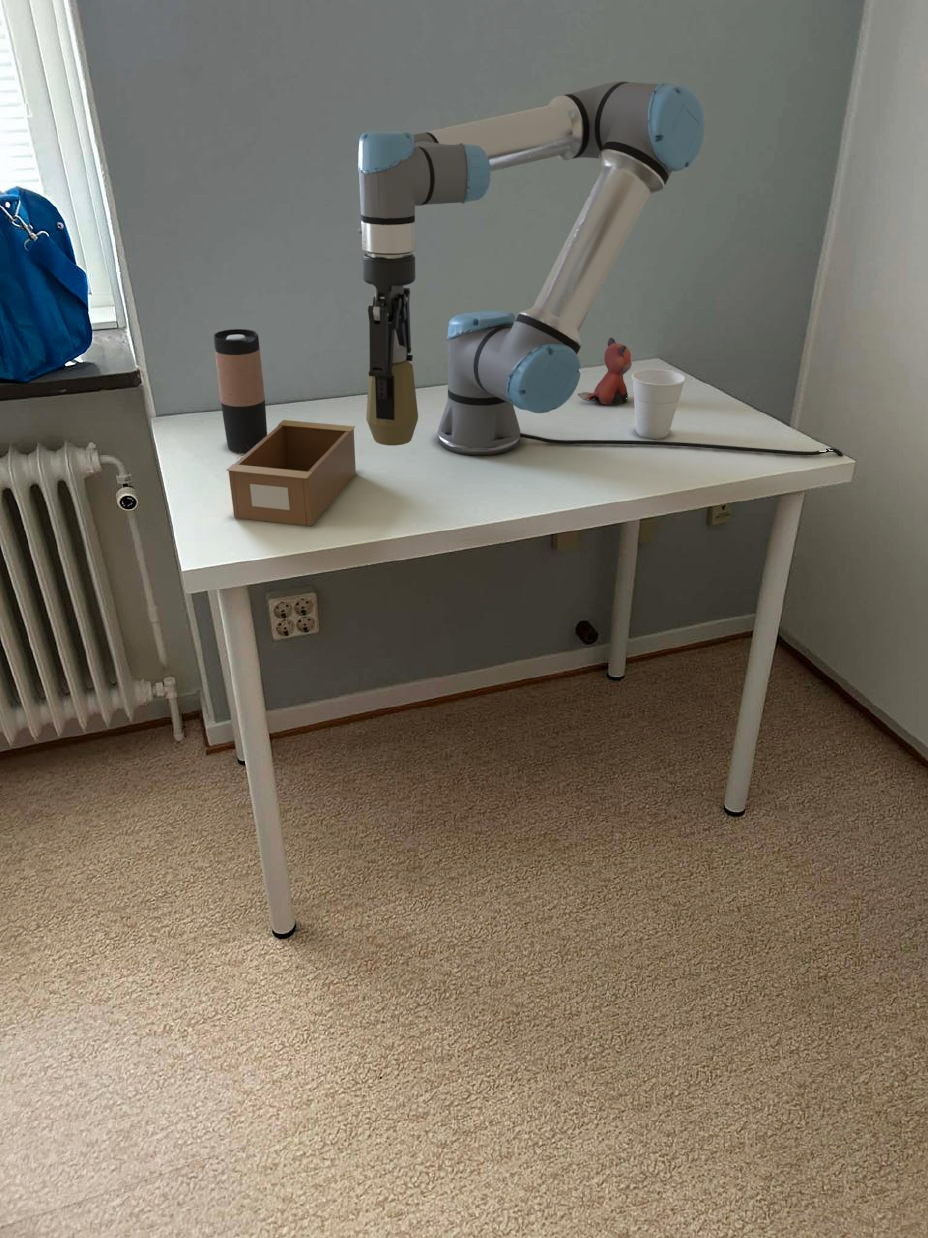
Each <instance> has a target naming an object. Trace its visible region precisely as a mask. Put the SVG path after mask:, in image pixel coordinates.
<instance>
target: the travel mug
mask: <svg viewBox="0 0 928 1238" xmlns="http://www.w3.org/2000/svg"><path fill="white" fill-rule="evenodd" d="M213 344H214V353H215V361H216V370H217V371H216V372H217V381H218V391H219V399H220V406H221V407H220V408H221V412H222V419H223V425H224V431H225V432H224V433H225V438H226V439H225V440H226V445H227V448H228V450H229V451H230V452H232V453H236V454H237V453H238V454H246V453H247V452H249V451H250V450H251V449H252V448H253V447H254V446H255V445H257V444H258V443H259V442H260V441H261V440H262V439H263V438H265V437H266V436H267V435H268V427H267V411H266V410H267V409H266V395H265V385H264V378H263V377H264V375H263V368H262V357H261V349H260V338H259V334H258V332H257V331H255V330H251V329H245V328H233V329H225V330H221V331H220V330H219V331H218V332H216V333H214V334H213Z"/></svg>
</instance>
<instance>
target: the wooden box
mask: <svg viewBox="0 0 928 1238" xmlns="http://www.w3.org/2000/svg"><path fill="white" fill-rule="evenodd" d="M355 428H356V426H355V425H346V424H345V425H343V424H333V423H322V422H313V421H312V422H311V421H302V420H301V421H299V420H289V419H282V420H281V421H280V422H279V423H278V424H277V426H276V427H275V428H273V430H271V431H270V432H269V433H267V436H266V437H265V438H263V439H262V440H261V441H260V442H259V443H258V444H257V445H255V446H254V447H253V448H252V449H251V450H250V451H249V452H247V453H244V455H243V456H241V458H239V459H238V460H237V461H236V462H235V463H232V464H231V465H230V466H229V467H227V468H226V470H225V471H227V472H228V478H229V486H230V495H231V502H232V503H231V504H232V511H233V512H232V513H233V519H241V520H243V519H244V520H251V521H260V522H269V523H277V524H287V525H295V526H307V527H312V526H313V525H314V524H315V523H316V522H317V520H318V519H319V518H320V517H321V516H322V515H323V513H324V512H325V511H326V510H327V508H328V507H330V505H331V504H332V503H333V501H334V500H335V499H336V498H337V496H338V495H339V494H340V493H341V492H342V491H343V490H344V488H345V487H346V486H347V485H348V483H349V482H351V480H352V479H353V477H354V476H355V475H356V473H357V470H356V469H357V468H356V466H357V465H356V450H355V449H356V448H355V447H356V445H355Z"/></svg>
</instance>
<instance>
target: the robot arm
mask: <svg viewBox="0 0 928 1238" xmlns="http://www.w3.org/2000/svg"><path fill="white" fill-rule="evenodd" d="M704 116H705V115H704V110H703V107H702V104H701V102H700V100H699V98H698V97H697V95H696V94H695V93H694V92H693V91H692V90H691V89H690V88H687V87H686V86H682V85H675V84H672V83H669V82H662V83H647V82H633V81H631V82H630V81H612V82H608V83H603V84H600V85H596V86H592V87H589V88H584V89H581V90H578V91H574V92H570V93H565V94H562V95H557V96H555V97H554V98H552V100H551V101H550V102H549V103H548V105H544V106H539V107H535V108H530V109H526V110H520V111H516V112H512V113H507V114H501V115H497V116H493V117H488V118H483V119H480V120H475V121H469V122H465V123H461V124H456V125H451V126H447V127H442V128H438V129H433V130H428V131H426V132H419V133H415V134H414V133H413V134H412V132H410V131H407V130H394V129H393V130H391V129H389V130H385V129H384V130H383V129H382V130H381V129H380V130H378V129H375V130H367V131H365V132H363V133H362V134H361V135H360V137H359V139H358V140H359V141H358V161H357V162H358V164H357V171H358V178H359V203H360V220H361V221H360V222H361V226H359V227H358V228H357V231H358V232H357V233H359V234H361V245H362V246H361V249H362V250H363V251H364V252H365V253H364V254H363V255H362V258H361V259H362V263H361V264H362V279H363V281H364V282H365V283H367V284H368V285H372V286H374V287H375V295H374V296H373V299H372V305H371V304H370V305H368V307H367V315H368V322H369V323H368V324H369V325H368V327H369V329H368V330H369V369H370V372H369V371H368V377H369V376H373V377H375V392H376V418H378V419H389V420H394V376H391V375H392V361H393V346H394V332H395V330H396V334H397V338H398V342H399V345H401V346H404V347H405V348H406V360H407V361H408V362H413V359H414V358H413V357H414V356H413V354H411V352H412V339H411V313H410V299H411V289H410V287H404V286H408V285H411V284H413V283H414V282H415V281H416V256H415V255H414V254H413V252H415V251H416V206H417V207H419V206H421V207H422V206H425V205H426V206H427V205H444V204H465V203H469V202H475V201H479V200H481V199H482V198H484V196H485V195H486V194H487V192H488V190H489V188H490V184H491V173H492V172H495V171H496V172H497V171H499V170H500V171H501V170H503V169H508V168H512V167H517V166H522V165H524V164H528V163H533V162H537V161H541V160H546V159H550V158H553V157H554V158H555V157H557V158H558V159H560V160H562V161H569V160H574V159H579V158H581V159H582V158H588V159H598V160H599V162H600V165H601V171H600V172H599V175H598V176H597V179H596V181H595V183H594V185H593V187H592V189H591V191H590V192H589V195H588V197H587V198H586V201H585V202H584V205H583V206H582V209H581V210H580V212H579V215H578V217H577V218H576V220H575V223H573V224H574V225H573V226H572V229H571V230H570V232H569V234H568V236H567V238H566V240H565V242H564V244H563V246H562V248H561V250H560V251H559V254H558V256H557V258H556V260H555V262H554V264H553V266H552V268H551V270H550V272H549V274H548V276H547V278H546V280H545V282H544V283H543V285H542V287H541V289H540V291H539V293H538V295H537V297H536V299H535V301H534V303H533V305H532V306H531V307H530V308H527V309H525V310H522V311H519V313H518V314H517V317H516V315H515V314H514V313H512V312H510V311H502V310H501V311H500V310H485V311H484V310H482V311H472V312H466V313H460V314H457V315H455V316H453V317H452V318H451V319H450V320H449V322H448V327H447V337H446V341H447V400H446V404H445V407H444V410H443V413H442V415H441V419H440V422H439V425H438V428H437V443H438V444H439V445H440V446H441V447H442V448H444V449H446V450H448V451H451V452H453V453H458V454H461V455H468V456H469V455H470V456H492V455H500V454H504V453H508V452H510V451H513V450H515V449H516V448H517V447H519V446H520V444H521V439H522V438H523V439H528V440H534V441H538V442H542V443H547V444H556V445H558V444H559V445H644V446H645V445H646V446H666V447H667V446H668V447H670V446H671V447H683V448H684V447H686V448H699V449H701V448H702V449H714V450H726V451H727V450H728V451H739V452H751V453H764V454H765V453H766V454H775V455H776V454H777V455H789V456H790V455H791V456H820V455H823V454H828V453H834V454H836V455H837V456H838V457H844V456H845V455H844V454H843V452H842V451H841V450H840V449H837V448H834V447H828V449H830V450H833V451H829V450H828V449H827V448H825V449H826V450H827V451H826V452H819V450H815V451H813V450H812V451H807V450H806V451H804V450H802V451H801V450H788V449H787V450H786V449H777V448H776V449H774V448H760V447H748V446H738V445H737V446H734V445H724V444H712V443H711V444H710V443H699V442H698V443H697V442H696V443H695V442H682V441H681V442H680V441H662V440H634V439H633V440H632V439H630V440H629V439H628V440H627V439H553V438H547V437H542V436H537V435H532V434H527V433H521V427H520V425H519V420H518V417H517V414H516V410H515V408H517V409H519V410H522V411H528V412H531V413H534V414H546V413H550V412H552V411H554V410H557V409H559V408H560V407H562V406H563V405H564V404H565V403H566V402H567V401H568V400H570V398H571V397H572V395H573V394H574V393H575V391H576V389H577V387H578V385H579V383H580V378H581V371H579V370H580V369H581V362H580V358H579V356H578V353H579V351H580V350H581V348H582V341H581V338H580V330H581V328H582V326H583V324H584V323H585V320H586V318H587V317H588V315H589V312H590V311H591V309H592V307H593V304H594V303H595V302H596V299H597V297H598V295H599V293H600V291H601V290H602V287H603V286H604V283H605V282H606V280H607V277H608V276H609V274H610V272H611V270H612V268H613V266H614V264H615V262H616V260H617V258H618V256H619V254H620V252H621V251H622V249H623V247H624V245H625V243H626V241H627V240H628V237H629V235H630V234H631V231H632V230H633V227H634V226H635V224H636V222H637V220H638V218H639V216H640V214H641V213H642V211H643V208H644V206H645V204H646V203H647V200H648V199H649V197H650V196H651V195H653V194H657V193H659V192H662V191H663V190H664V188H665V186H666V185H667V182H668V180H669V178H670V177H671V176H672V175H671V174H673V173H674V172H679V171H682V170H685V168H688V167H690V166H691V165H692V164H693V163H694V161H696V159H697V158H698V155H699V153H700V151H701V149H702V146H703V143H704V138H705V129H706V128H705V127H706V126H705V121H704Z"/></svg>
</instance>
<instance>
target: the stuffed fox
mask: <svg viewBox="0 0 928 1238" xmlns="http://www.w3.org/2000/svg"><path fill="white" fill-rule="evenodd" d="M631 356H632V354H631V351H630V349H629V348H628V347H627V345H625V344H622V343H617V342H616V340H615V338H614V337H609V338H608V341H607V348H606V349H605V352H604V356H603V358H604V364H605V367H606V369H607V372H606V373H605V374H604V375H603V377H602V379H600V381H599V382H598V383H597V385H596V386H595V388H594V390H593V392H587V391H586V392H585V391H583V392H579V393H577V396H578V397H579V399H581V400H582V401H586V402H595V401H598V400H599V403H600V405H603V404H604V405H606V406H607V405H608V406H614V405H617V406H618V405H620V404H625V403H628V400H629V399H628V397H629V393H628V390H627V389H628V388H627V385H626V383H625V380H624V374H626V373H627V372H629V370H630V369H632V357H631ZM626 398H627V399H626Z"/></svg>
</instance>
